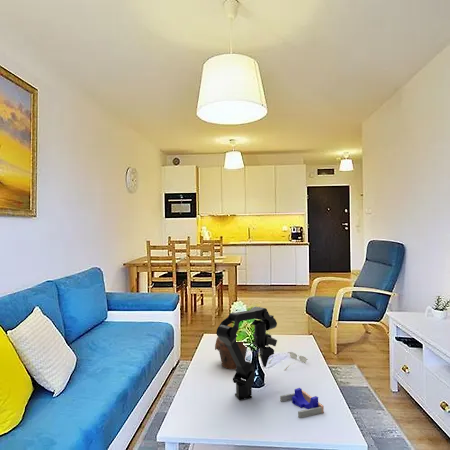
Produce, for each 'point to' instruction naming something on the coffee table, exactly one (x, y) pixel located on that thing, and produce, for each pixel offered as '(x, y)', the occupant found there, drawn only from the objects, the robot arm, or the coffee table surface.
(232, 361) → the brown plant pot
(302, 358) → the eyeglasses
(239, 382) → the robot arm
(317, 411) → the frame
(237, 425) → the coffee table surface
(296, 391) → the cable clip
